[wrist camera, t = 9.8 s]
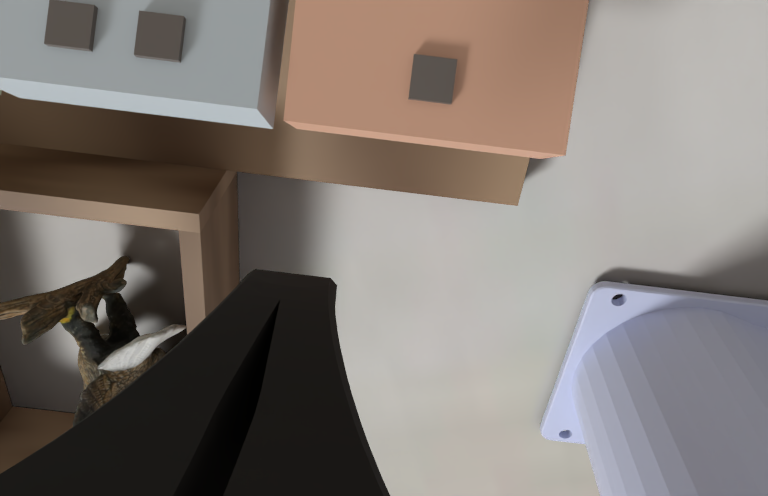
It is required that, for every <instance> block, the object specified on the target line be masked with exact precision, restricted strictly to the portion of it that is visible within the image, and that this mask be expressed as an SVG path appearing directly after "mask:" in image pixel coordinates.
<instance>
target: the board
mask: <svg viewBox="0 0 768 496" xmlns="http://www.w3.org/2000/svg"><path fill="white" fill-rule="evenodd" d="M295 2H296V0H289V4H288V12H287V20H286V28H285V37H284V45H283V53H282V61H281V69H280V78H279V86H278V94H277V102H276V110H275V119H274V127H273V129H268V128H260V127H252V126H244V125H236V124H228V123H219V122H211V121H203V120H195V119H187V118H179V117H171V116H162V115H154V114H146V113H138V112H130V111H122V110H114V109H105V108H97V107H89V106H81V105H73V104H65V103H57V102H48V101H40V100H32V99H24V98H19V97H16V96H14V95H12V94H9V93H7V92H5V91H3V90H2V92H1V95H0V209H4V210H12V211H20V212H29V213H37V214H45V215H54V216H62V217H70V218H79V219H87V220H95V221H104V222H112V223H121V224H129V225H137V226H146V227H154V228H162V229H171V230H178V231H179V243H180V255H181V267H182V279H183V291H184V303H185V315H186V327H187V334H189V333H190V332H191V331H192V330H193V329H194V328H195V327H196V326H197V325H198V324H199V323H200V322H201V321H203V320H204V319H205V318H206V317H207V316H208V315H209V314H210V313H211V312H212V311H213V310H214V309H215V308H216V307H217V306H218V305H219V304H220V303H221V302H222V301H223V300H224V299H225V298H226V297H227V296H228V295H229V294H230V293H231V292H232V290H233V289H234V288H235V287H236V286H237V285H238V284H239V283H240V282H239V236H238V190H237V172H244V173H252V174H261V175H269V176H277V177H285V178H293V179H302V180H310V181H318V182H326V183H335V184H343V185H351V186H359V187H367V188H376V189H384V190H392V191H400V192H409V193H417V194H425V195H433V196H442V197H450V198H458V199H466V200H474V201H483V202H491V203H499V204H507V205H516V206H518V202H519V198H520V194H521V191H522V187H523V183H524V179H525V175H526V171H527V167H528V164H529V160H530V158H529V157H521V156H513V155H505V154H497V153H488V152H480V151H472V150H464V149H456V148H448V147H440V146H431V145H423V144H415V143H407V142H399V141H391V140H383V139H374V138H366V137H358V136H350V135H342V134H334V133H326V132H318V131H309V130H301V129H296V128H294V127H293V126H291V125H290V124H288V123H286V122H285V121H283V120H284V110H285V100H286V90H287V80H288V71H289V61H290V51H291V41H292V31H293V21H294V12H295ZM74 418H75V413H66V412H57V411H49V410H40V409H31V408H23V407H14V406H12V403H11V400H10V397H9V394H8V390H7V387H6V384H5V381H4V377H3V374H2V371H1V368H0V474H1V473H2V472H4V471H6V470H7V469H9V468H11V467H12V466H14V465H15V464H17V463H19V462H20V461H22V460H23V459H25V458H27V457H28V456H30V455H31V454H33V453H34V452H36V451H37V450H39V449H41V448H42V447H44V446H45V445H47V444H48V443H50V442H51V441H53V440H54V439H56V438H57V437H59V436H60V435H62V434H63V433H65V432H66V431H68V430H69V429H70V428H72V427H73V420H74Z"/></svg>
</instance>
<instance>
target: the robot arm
mask: <svg viewBox="0 0 768 496" xmlns="http://www.w3.org/2000/svg"><path fill="white" fill-rule="evenodd" d="M336 289H337V285H336V284H335V283H334V281H333V280H332V279H331V278H325V277H316V276H308V275H299V274H291V273H283V272H274V271H266V270H257V269H255V270H253V271H252V272H250V273H249V274H248V275H247V276H246V277H245V278H244V279H243V280H242V281H241V282H240V283H239V284H238V285H237V286H236V287H235V288H234V289H233V290H232V292H231V293H230V294H229V295H228V296H227V297H226V298H225V299H224V300H223V301H222V302H221V303H220V304H219V305H218V306H217V307H216V308H215V309H214V310H213V311H212V312H211V313H210V314H209V315H208V316H207V317H206V318H205V319H204V320H203V321H201V322H200V323H199V324H198V325H197V326H196V327H195V328H194V329H193V330H192V331H191V332H190V333H189V334H187V335H186V336H185V337H184V338H183V339H182V340H181V341H180V342H179V343H178V344H177V345H176V346H175V347H173V348H172V349H171V350H170V351H169V352H168V353H167V354H166V355H164V356H163V357H162V358H161V359H160V360H158V361H157V362H156V363H155V364H154V365H152V366H151V367H150V368H149V369H148V370H146V371H145V372H144V373H143V374H142V375H140V376H139V377H138V378H137V379H136V380H134V381H133V382H132V383H131V384H130V385H128V386H127V387H126V388H125V389H123V390H122V391H121V392H119V393H118V394H117V395H116V396H114V397H113V398H112V399H110V400H109V401H108V402H106V403H105V404H104V405H102V406H101V407H100V408H98V409H97V410H96V411H94V412H93V413H92V414H90V415H89V416H87V417H86V418H85V419H83V420H82V421H80V422H79V423H78V424H76V425H75V426H73V427H72V428H70V429H69V430H68V431H66V432H65V433H63V434H62V435H60V436H59V437H57V438H56V439H54V440H53V441H51V442H50V443H48V444H47V445H45V446H44V447H42V448H41V449H39V450H37V451H36V452H34V453H33V454H31V455H30V456H28V457H27V458H25V459H23V460H22V461H20V462H19V463H17V464H15V465H14V466H12V467H11V468H9V469H7V470H6V471H4V472H2V473H1V474H0V496H390V495H389V492H388V490H387V488H386V486H385V483H384V481H383V479H382V477H381V474H380V472H379V469H378V467H377V464H376V462H375V459H374V457H373V455H372V452H371V450H370V447H369V444H368V441H367V439H366V436H365V433H364V430H363V428H362V425H361V422H360V419H359V416H358V412H357V409H356V406H355V403H354V400H353V397H352V393H351V390H350V386H349V382H348V379H347V375H346V371H345V366H344V362H343V358H342V353H341V349H340V344H339V338H338V332H337V324H336V316H335V301H336ZM617 294H623V295H622V297H620V298H618V299H612V298H613V296H615V295H617ZM540 430H541V434H542V436H543V437H544V438H546V439H548V440H554V441H563V442H571V443H580V444H586V448H587V451H588V455H589V458H590V462H591V465H592V469H593V472H594V475H595V479H596V482H597V486H598V489H599V493H600V496H768V300H760V299H751V298H743V297H735V296H726V295H718V294H710V293H701V292H693V291H685V290H676V289H668V288H660V287H651V286H643V285H635V284H626V283H618V282H609V281H601V282H598V283H595V284H594V285H593V286H592V287H591V288H590V290H589V291H588V294H587V297H586V300H585V302H584V305H583V308H582V311H581V314H580V316H579V319H578V322H577V325H576V327H575V330H574V333H573V336H572V338H571V341H570V344H569V347H568V350H567V352H566V355H565V358H564V361H563V363H562V366H561V369H560V372H559V374H558V377H557V380H556V383H555V386H554V388H553V391H552V394H551V397H550V399H549V402H548V405H547V408H546V410H545V413H544V416H543V419H542V422H541V424H540ZM563 430H566V431H563Z"/></svg>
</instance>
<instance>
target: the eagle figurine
mask: <svg viewBox="0 0 768 496" xmlns="http://www.w3.org/2000/svg"><path fill="white" fill-rule="evenodd" d="M128 262H129V257H127V256H123V257H120V258H119V259H118V260H117V261H116V262H115V263H114V264H113V265H112V266H111V267H109V268H108V269H107V270H104V271H102V272H101V273H99V274H97V275H95V276H93V277H90V278H87V279H84V280H81V281H78V282H75V283H73V284H71V285H68V286H66V287H63V288H60V289H57V290H54V291H50V292H46V293H40V294H36V295H31V296H26V297H22V298H18V299H14V300H10V301H6V302H2V303H0V320H2V319H8V318H12V317H15V316H17V315H23V314H24V316H23V317H22V318H21V323H20V325H21V330H22V334H23V336H22V339H21V342H22V344H23V345H25V344H28V343H30V342H31V341H33V340H34V339H36V338H38V337H40V336H41V335H42V334H44V333H45V332H47V331H49V330H50V329H52V328H53V327H54V326H55V325H56V324H57V323H58V322H61V323H62V325H63V327H64V328H65V330H67V331H68V332H69V333H70V334H71V335H72V336H73V337H74V338H75V340H76V342H77V344H78V346H79V347H80V350H79V354H78V367H79V370H80V373H81V376H82V378H83V383H84V391H83V392H82V393H81V395H80V400H81V401H80V403H79V404H78V405H77V410H76V412H75V418H74V420H73V426H75V425H76V424H78V423H79V422H80V421H82V420H83V419H85V418H86V417H87V416H89V415H90V414H92V413H93V412H94V411H96V410H97V409H98V408H100V407H101V406H102V405H104V404H105V403H106V402H108V401H109V400H110V399H112V398H113V397H114V396H116V395H117V394H118V393H119V392H121V391H122V390H123V389H125V388H126V387H127V386H128V385H130V384H131V383H132V382H133V381H134V380H136V379H137V378H138V377H139V376H140V375H142V374H143V373H144V372H145V371H146V370H148V369H149V368H150V367H151V366H152V365H154V364H155V363H156V362H157V361H158V360H160V359H161V358H162V357H163V356H164V355H166V354H167V353H168V352H169V351H170V350H169V351H168V352H166V353H165V352H164V351H163V350H162V349H161V348H156V347H157V346H158V345H159V344H161V343H162V342H163V341H165V340H166V339H168V338H170V337H171V336H173V335H175V334H177V333H179V332H181V331H182V330H184V329H185V328H186V325H177V324H173V325H170V326H167V327H165V328H164V329H162V330H161V331H159V332H156V333H151V334H145V335H141V336H140V335H139V333H138V331H137V330H136V327H137V326H136V324H135V320H134V317H133V316H132V314H131V313H130V311H129V309H128V308H127V305H126V303H125V301H124V300H123V298H122V296H121V294H120V293H117V292H120V291H121V290H122V289H123V288H124V287H125V285H126V283H127V282H126V281H125V280H124V279H123V278H124V273H125V270H126V264H127V263H128ZM101 298H103V299H104V300H105V301H106V313H107V316H108V319H109V322H110V323H109V329H110V333H109V335H100V333H99V330H98V329H97V328H96V327H95V325H94V324H93V323H97V322H98V317H97V308H98V305H99V302H100V300H101ZM91 322H93V323H91Z"/></svg>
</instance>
